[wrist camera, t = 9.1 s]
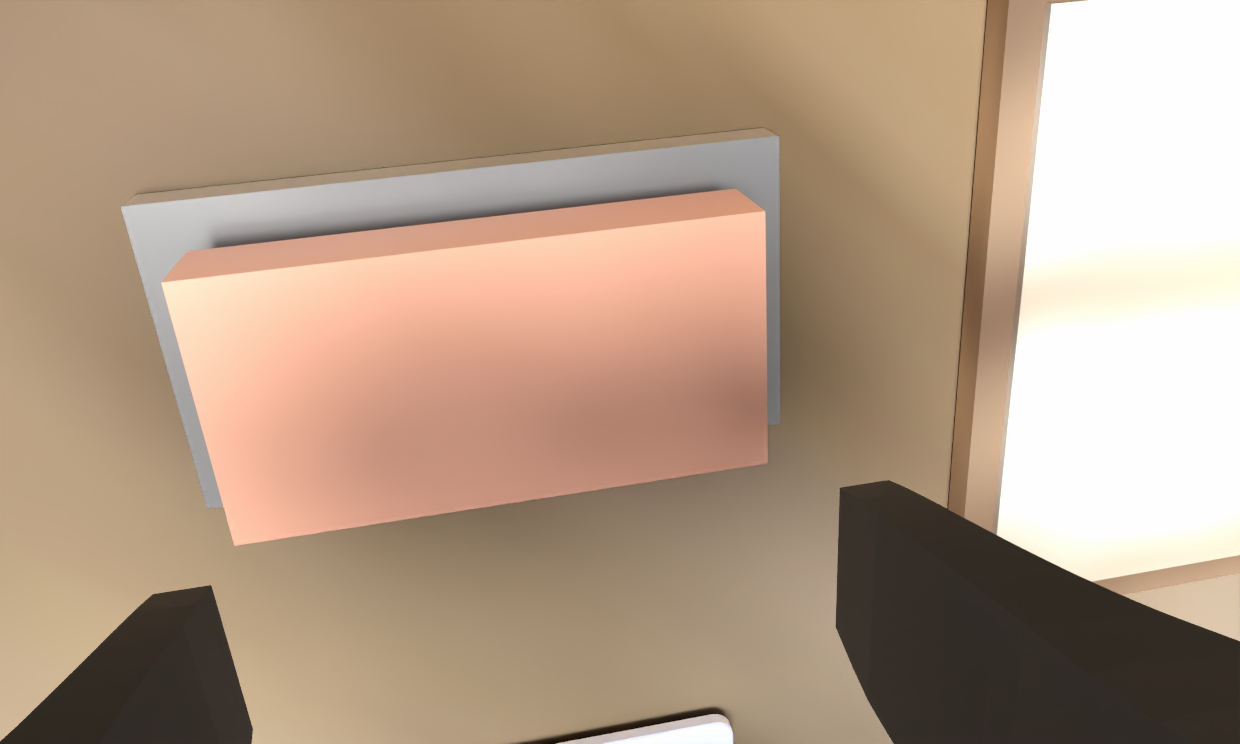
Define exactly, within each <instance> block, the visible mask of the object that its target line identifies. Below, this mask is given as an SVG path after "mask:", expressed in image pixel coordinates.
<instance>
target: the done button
mask: <svg viewBox="0 0 1240 744" xmlns="http://www.w3.org/2000/svg"><path fill="white" fill-rule="evenodd" d="M161 284H162V287H163V291H164V295H165V298H166V302H167V305H168V309H169V313H170V316H171V320H172V323H173V327H174V331H175V334H176V338H177V341H178V345H179V349H180V352H181V356H182V359H183V363H184V367H185V370H186V374H187V377H188V381H189V385H190V388H191V392H192V395H193V399H194V403H195V406H196V410H197V413H198V417H199V420H200V424H201V428H202V431H203V435H204V438H205V442H206V446H207V449H208V453H209V456H210V460H211V464H212V467H213V471H214V474H215V478H216V482H217V485H218V489H219V492H220V496H221V500H222V503H223V507H224V510H225V514H226V518H227V521H228V525H229V528H230V532H231V536H232V539H233V543H234V546H237V545H243V544H249V543H256V542H262V541H269V540H275V539H282V538H288V537H295V536H301V535H308V534H314V533H321V532H327V531H334V530H340V529H347V528H353V527H360V526H366V525H373V524H379V523H386V522H392V521H399V520H405V519H412V518H418V517H425V516H431V515H438V514H444V513H451V512H457V511H463V510H470V509H476V508H483V507H489V506H496V505H502V504H509V503H515V502H522V501H528V500H535V499H541V498H548V497H554V496H561V495H567V494H574V493H580V492H587V491H593V490H600V489H606V488H613V487H619V486H626V485H632V484H639V483H645V482H652V481H658V480H664V479H671V478H677V477H684V476H690V475H697V474H703V473H710V472H716V471H723V470H729V469H736V468H742V467H749V466H755V465H762V464H768V417H767V320H766V223H765V211H764V210H763V209H762V208H761V207H759V206H758V205H757V204H755V203H754V202H753V201H751V200H750V199H749V198H748V197H746V196H745V195H744V194H742V193H741V192H740V191H738V190H737V189H727V190H718V191H710V192H701V193H692V194H684V195H675V196H666V197H657V198H649V199H640V200H631V201H622V202H614V203H605V204H596V205H587V206H579V207H570V208H561V209H553V210H544V211H535V212H526V213H518V214H509V215H500V216H491V217H483V218H474V219H465V220H456V221H448V222H439V223H430V224H422V225H413V226H404V227H395V228H387V229H378V230H369V231H360V232H352V233H343V234H334V235H325V236H317V237H308V238H299V239H291V240H282V241H273V242H264V243H256V244H247V245H238V246H229V247H221V248H212V249H203V250H194V251H187V252H186V253H185V254H184V256H183V257H182V258H181V259H180V260H179V262H178V263H177V264H176V265H175V267H174V268H173V269H172V270H171V271H170V273H169V274H168V275H167V276H166V277H165V279H164V280H163V281H162V282H161Z"/></svg>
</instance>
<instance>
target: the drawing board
mask: <svg viewBox="0 0 1240 744" xmlns="http://www.w3.org/2000/svg"><path fill="white" fill-rule="evenodd" d="M948 510H950V511H952V512H954V513H956V514H958V515H960V516H961V517H963V518H965V519H967V520H969V521H971V522H973V523H975V524H977V525H978V526H980V527H982V528H984V529H986V530H988V531H990V532H992V533H994V534H996V535H998V536H999V537H1001V538H1003V539H1005V540H1007V541H1009V542H1011V543H1013V544H1015V545H1017V546H1019V547H1021V548H1023V549H1025V550H1027V551H1029V552H1031V553H1033V554H1035V555H1037V556H1039V557H1041V558H1043V559H1045V560H1047V561H1049V562H1051V563H1053V564H1055V565H1057V566H1059V567H1061V568H1063V569H1065V570H1067V571H1070V572H1072V573H1074V574H1076V575H1078V576H1080V577H1082V578H1085V579H1087V580H1089V581H1091V582H1093V583H1096V584H1098V585H1100V586H1102V587H1105V588H1107V589H1109V590H1111V591H1113V592H1116V593H1118V594H1120V595H1124V594H1129V593H1135V592H1140V591H1146V590H1151V589H1157V588H1162V587H1168V586H1173V585H1179V584H1184V583H1190V582H1195V581H1201V580H1206V579H1212V578H1217V577H1223V576H1228V575H1234V574H1239V573H1240V0H988V5H987V18H986V31H985V43H984V56H983V69H982V82H981V95H980V107H979V120H978V133H977V146H976V159H975V171H974V184H973V197H972V210H971V223H970V235H969V248H968V261H967V274H966V287H965V300H964V312H963V325H962V338H961V351H960V364H959V376H958V389H957V402H956V415H955V428H954V440H953V453H952V466H951V479H950V492H949V504H948Z"/></svg>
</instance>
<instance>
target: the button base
mask: <svg viewBox="0 0 1240 744" xmlns="http://www.w3.org/2000/svg"><path fill="white" fill-rule="evenodd" d="M727 189H737V190H738V191H740V192H741V193H742V194H744V195H745V196H746V197H748V198H749V199H750V200H751V201H753V202H754V203H755V204H757V205H758V206H759V207H761V208H762V209H763V210H764V211H765V223H766V320H767V417H768V425H774V424H780V194H779V135H777V134H775V133H773V132H771V131H769V130H767V129H765V128H756V129H746V130H737V131H727V132H718V133H709V134H699V135H690V136H680V137H671V138H662V139H652V140H643V141H633V142H624V143H615V144H605V145H596V146H586V147H577V148H568V149H558V150H549V151H539V152H530V153H520V154H511V155H502V156H492V157H483V158H473V159H464V160H455V161H445V162H436V163H426V164H417V165H408V166H398V167H389V168H379V169H370V170H361V171H351V172H342V173H332V174H323V175H314V176H304V177H295V178H285V179H276V180H266V181H257V182H248V183H238V184H229V185H219V186H210V187H201V188H191V189H182V190H172V191H163V192H154V193H144V194H136V195H135V196H133V197H132V198H131V199H130V200H128V201H127V202H126V203H125V204H124V205H122V206H121V209H122V213H123V216H124V220H125V223H126V227H127V230H128V234H129V237H130V241H131V244H132V248H133V251H134V255H135V258H136V262H137V265H138V269H139V272H140V276H141V279H142V283H143V286H144V290H145V293H146V297H147V300H148V304H149V307H150V311H151V314H152V318H153V321H154V325H155V328H156V332H157V335H158V339H159V342H160V346H161V349H162V353H163V356H164V360H165V363H166V366H167V370H168V373H169V377H170V380H171V384H172V387H173V391H174V394H175V398H176V401H177V405H178V408H179V412H180V415H181V419H182V422H183V426H184V429H185V433H186V436H187V440H188V443H189V447H190V450H191V454H192V457H193V461H194V464H195V468H196V471H197V475H198V478H199V482H200V485H201V489H202V492H203V496H204V499H205V503H206V506H207V509H210V508H217V507H223V503H222V500H221V496H220V492H219V489H218V485H217V482H216V478H215V474H214V471H213V467H212V464H211V460H210V456H209V453H208V449H207V446H206V442H205V438H204V435H203V431H202V428H201V424H200V420H199V417H198V413H197V410H196V406H195V403H194V399H193V395H192V392H191V388H190V385H189V381H188V377H187V374H186V370H185V367H184V363H183V359H182V356H181V352H180V349H179V345H178V341H177V338H176V334H175V331H174V327H173V323H172V320H171V316H170V313H169V309H168V305H167V302H166V298H165V295H164V291H163V287H162V284H161V282H162V281H163V280H164V279H165V277H166V276H167V275H168V274H169V273H170V271H171V270H172V269H173V268H174V267H175V265H176V264H177V263H178V262H179V260H180V259H181V258H182V257H183V256H184V254H185V253H186V252H187V251H194V250H203V249H212V248H221V247H229V246H238V245H247V244H256V243H264V242H273V241H282V240H291V239H299V238H308V237H317V236H325V235H334V234H343V233H352V232H360V231H369V230H378V229H387V228H395V227H404V226H413V225H422V224H430V223H439V222H448V221H456V220H465V219H474V218H483V217H491V216H500V215H509V214H518V213H526V212H535V211H544V210H553V209H561V208H570V207H579V206H587V205H596V204H605V203H614V202H622V201H631V200H640V199H649V198H657V197H666V196H675V195H684V194H692V193H701V192H710V191H718V190H727Z"/></svg>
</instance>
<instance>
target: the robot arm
mask: <svg viewBox="0 0 1240 744" xmlns="http://www.w3.org/2000/svg"><path fill="white" fill-rule="evenodd" d="M836 629H837V631H838V633H839V636H840V638H841V640H842V643H843V645H844V647H845V650H846V652H847V655H848V657H849V659H850V662H851V664H852V666H853V669H854V671H855V673H856V675H857V677H858V680H859V682H860V684H861V686H862V688H863V690H864V693H865V695H866V697H867V699H868V701H869V703H870V705H871V706H872V708H873V710H874V711H875V713H876V715H877V717H878V718H879V720H880V722H881V723H882V725H883V727H884V728H885V730H886V732H887V733H888V735H889V736H890V738H891V740H892V741H893V743H894V744H1240V641H1237V640H1235V639H1232V638H1229V637H1226V636H1224V635H1221V634H1218V633H1216V632H1213V631H1210V630H1208V629H1205V628H1202V627H1200V626H1197V625H1194V624H1192V623H1189V622H1186V621H1184V620H1181V619H1178V618H1176V617H1173V616H1170V615H1168V614H1165V613H1163V612H1160V611H1158V610H1155V609H1153V608H1150V607H1148V606H1146V605H1143V604H1141V603H1138V602H1136V601H1134V600H1131V599H1129V598H1127V597H1125V596H1122V595H1120V594H1118V593H1116V592H1113V591H1111V590H1109V589H1107V588H1105V587H1102V586H1100V585H1098V584H1096V583H1093V582H1091V581H1089V580H1087V579H1085V578H1082V577H1080V576H1078V575H1076V574H1074V573H1072V572H1070V571H1067V570H1065V569H1063V568H1061V567H1059V566H1057V565H1055V564H1053V563H1051V562H1049V561H1047V560H1045V559H1043V558H1041V557H1039V556H1037V555H1035V554H1033V553H1031V552H1029V551H1027V550H1025V549H1023V548H1021V547H1019V546H1017V545H1015V544H1013V543H1011V542H1009V541H1007V540H1005V539H1003V538H1001V537H999V536H998V535H996V534H994V533H992V532H990V531H988V530H986V529H984V528H982V527H980V526H978V525H977V524H975V523H973V522H971V521H969V520H967V519H965V518H963V517H961V516H960V515H958V514H956V513H954V512H952V511H950V510H948V509H946V508H944V507H942V506H941V505H939V504H937V503H935V502H933V501H931V500H929V499H927V498H925V497H923V496H921V495H919V494H917V493H915V492H913V491H911V490H909V489H907V488H905V487H903V486H901V485H898V484H896V483H894V482H891V481H889V480H888V481H881V482H875V483H868V484H862V485H856V486H849V487H843V488H840V506H839V539H838V572H837V606H836ZM252 731H253V728H252V725H251V721H250V718H249V715H248V711H247V708H246V704H245V701H244V697H243V694H242V690H241V687H240V683H239V680H238V677H237V673H236V670H235V666H234V663H233V659H232V656H231V652H230V649H229V645H228V642H227V638H226V635H225V632H224V628H223V625H222V621H221V618H220V614H219V611H218V607H217V604H216V600H215V597H214V593H213V590H212V587H211V585H210V586H204V587H197V588H191V589H184V590H178V591H171V592H165V593H159V594H153V595H152V596H151V597H149V598H148V599H147V600H146V601H145V602H144V603H143V604H141V605H140V606H139V607H138V608H137V609H136V610H135V611H134V612H133V613H132V614H131V615H130V616H129V617H128V618H127V619H126V620H125V621H124V622H123V623H122V624H121V625H120V626H119V627H118V628H117V629H116V630H114V631H113V632H112V633H111V634H110V635H109V636H108V637H107V638H106V639H105V640H104V641H103V642H102V643H101V644H100V645H99V646H98V647H97V648H96V649H95V650H94V651H93V652H92V653H91V654H90V655H89V656H88V657H87V658H86V659H85V660H84V661H83V662H82V663H81V664H80V665H79V666H78V667H77V668H76V669H75V670H74V671H73V672H72V673H71V674H70V675H69V676H68V677H67V678H66V679H65V680H64V681H63V682H62V683H61V684H60V685H59V686H58V687H57V688H56V689H55V690H54V691H53V692H52V693H51V694H50V695H49V696H48V697H47V698H46V699H45V700H44V701H43V702H42V703H40V704H39V705H38V706H37V707H36V708H35V709H34V710H33V711H32V712H31V713H30V714H29V715H28V716H27V717H26V718H25V719H24V720H23V721H22V722H21V723H20V724H19V725H18V726H17V727H16V728H15V729H14V730H12V731H11V732H10V733H9V734H8V735H7V736H6V737H5V738H4V739H2V740H1V741H0V744H251V741H252ZM557 744H733V732H732V728H731V726H730V723H729V721H728V719H727V718H726V717H725V716H722V715H719V714H710V715H705V716H700V717H695V718H689V719H684V720H679V721H673V722H668V723H663V724H657V725H652V726H647V727H641V728H636V729H631V730H626V731H620V732H615V733H610V734H604V735H599V736H594V737H588V738H583V739H578V740H572V741H567V742H562V743H557Z"/></svg>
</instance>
